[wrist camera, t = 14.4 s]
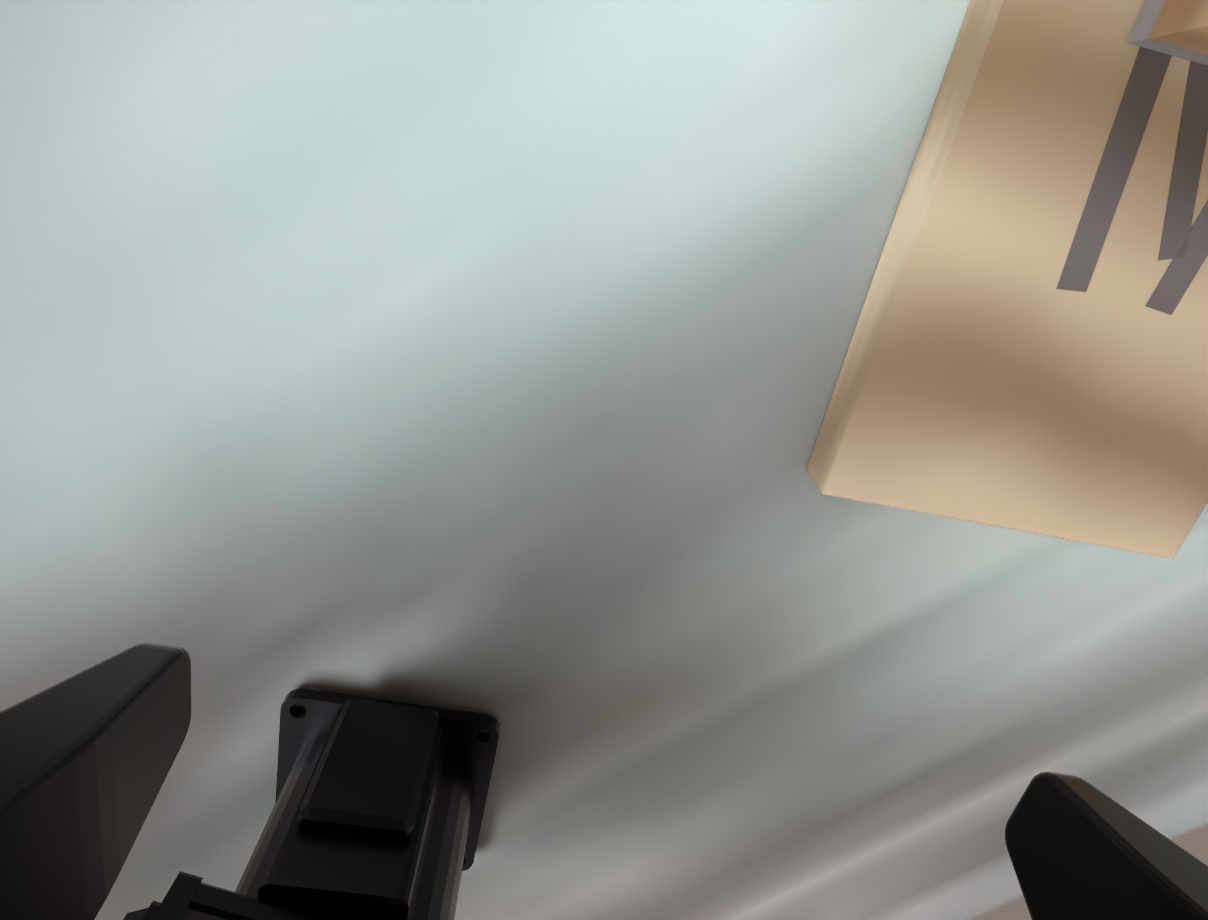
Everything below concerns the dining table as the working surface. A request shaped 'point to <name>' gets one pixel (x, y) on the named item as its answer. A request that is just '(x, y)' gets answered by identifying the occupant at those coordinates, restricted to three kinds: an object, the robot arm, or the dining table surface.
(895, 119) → the dining table surface
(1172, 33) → the block
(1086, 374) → the board
